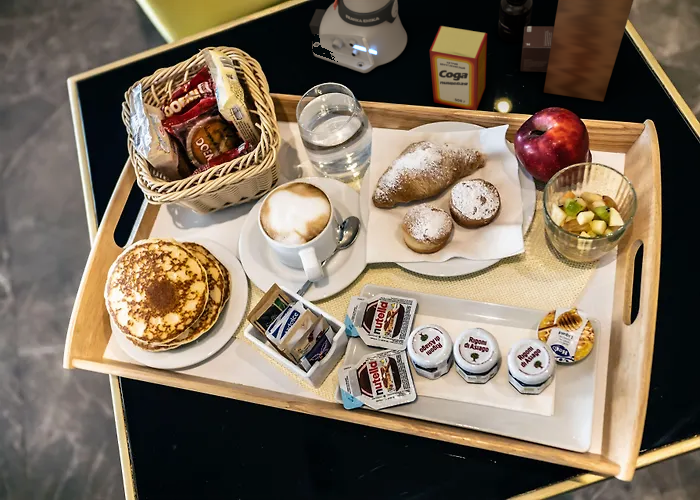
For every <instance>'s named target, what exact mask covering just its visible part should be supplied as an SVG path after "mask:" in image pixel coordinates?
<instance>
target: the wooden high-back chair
mask: <svg viewBox="0 0 700 500" xmlns="http://www.w3.org/2000/svg"><path fill="white" fill-rule="evenodd" d="M557 1H558V2H557V7H556V12H555V13H556V14H555V20H554V26H553V27H554V31H553V38H552V44H551V50H550V56H549V62H548V68H547V72H546V75H545V80H544V81H545V82H544V87H543V93H546V94H550V95H551V94H552V95H558V96H564V97H570V98H577V99H584V100H591V101H597V102H604V101H605V97H606V93H607V90H608V87H609V83H610V80H611V76H612V73H613V69H614V68H615V67H614V66H615V65H616V64H615V63H616V60H617V57H618V53H619V50H620V47H621V43H622V39H623V36H624V34H625V30H626V27H627V23H628V20H629V17H630V13H631V10H632V7H633V3H634V0H557Z"/></svg>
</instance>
